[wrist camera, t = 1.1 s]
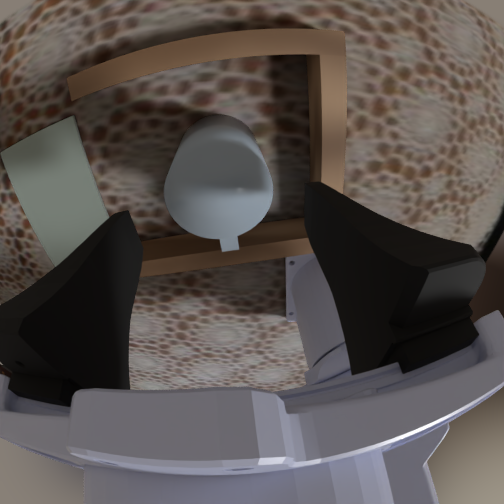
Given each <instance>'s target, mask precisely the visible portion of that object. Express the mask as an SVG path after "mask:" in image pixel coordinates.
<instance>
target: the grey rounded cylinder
mask: <svg viewBox="0 0 504 504" xmlns="http://www.w3.org/2000/svg"><path fill="white" fill-rule="evenodd" d="M272 197H273V183H272V179H271V176H270V173H269V171H268V168H267V166H266V163H265V161H264V158H263V156H262V153H261V151H260V149H259V146H258V144H257V141H256V139H255V137H254V135H253V133H252V131H251V130H250V129H249V127H248V126H247V125H246V124H244V123H243V122H242V121H240V120H238V119H236V118H234V117H231V116H227V115H212V116H207V117H205V118H202V119H200V120H198V121H197V122H195V123H194V124H193V125H191V126H190V127H189V129H188V130H187V131H186V132H185V134H184V136H183V138H182V140H181V143H180V145H179V147H178V150H177V152H176V155H175V157H174V160H173V162H172V165H171V167H170V170H169V172H168V175H167V177H166V181H165V185H164V199H165V203H166V206H167V209H168V211H169V213H170V215H171V216H172V218H173V219H174V220H175V221H176V222H177V223H178V224H179V225H180V226H181V227H182V228H183V229H185V230H187V231H188V232H190V233H192V234H194V235H197V236H200V237H204V238H209V239H220V244H221V248H222V252H225V251H232V250H239V243H238V235H241V234H243V233H245V232H247V231H249V230H251V229H252V228H253V227H255V226H256V225H257V224H258V223H259V222H260V221H261V220H262V219H263V218H264V216H265V215H266V213H267V212H268V210H269V208H270V205H271V202H272Z"/></svg>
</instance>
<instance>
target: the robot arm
mask: <svg viewBox="0 0 504 504" xmlns="http://www.w3.org/2000/svg"><path fill="white" fill-rule="evenodd" d="M304 226H305V229H306V232H307V236H308V239H309V242H310V245H311V247H312V249H313V252H314V253H311V254H305V255H298V256H291V257H285V266H286V319H287V321H288V322H293V321H297V324H298V328H299V332H300V336H301V340H302V344H303V348H304V352H305V356H306V360H307V364H308V367H309V369H310V370H308V371H306V372H305V373H304V375H305V379H306V383H307V384H306V385H304V386H302V387H300V388H294V389H289V390H283V391H277V392H271V391H268V390H263V389H257V388H252V387H211V388H197V389H177V390H130V381H129V330H130V319H131V313H132V308H133V303H134V299H135V294H136V290H137V286H138V282H139V277H140V273H141V268H142V260H143V249H144V248H143V246H142V244H141V241H140V239H139V236H138V234H137V231H136V229H135V226H134V224H133V221H132V218H131V216H130V213H129V211H128V210H127V211H122V212H118V213H115V214H113V215H112V216H111V217H109V218H108V219H107V220H106V221H105V222H104V223H102V224H101V225H100V226H99V227H98V228H97V229H96V230H95V231H94V232H93V233H92V234H91V235H90V236H89V237H88V238H87V239H86V240H85V241H84V242H82V243H81V244H80V245H79V246H78V247H77V248H76V249H75V250H74V251H73V252H72V253H71V254H70V255H69V256H68V257H66V258H65V259H64V260H63V261H62V262H61V263H60V264H58V265H57V266H56V267H55V268H54V269H53V270H51V271H50V272H49V273H48V274H46V275H45V276H44V277H42V278H41V279H40V280H38V281H37V282H36V283H34V284H33V285H32V286H30V287H29V288H27V289H26V290H24V291H23V292H22V293H20V294H18V295H17V296H15V297H14V298H12V299H11V300H9V301H7V302H5V303H4V304H2V305H0V362H1V363H2V364H3V365H4V366H6V367H7V368H8V369H9V370H10V371H12V374H11V378H9V377H7V376H5V375H2V374H0V437H1V438H3V439H5V440H7V441H9V442H11V443H13V444H15V445H17V446H19V447H21V448H24V449H26V450H29V451H31V452H33V453H36V454H38V455H41V456H44V457H47V458H50V459H52V460H55V461H58V462H61V463H64V464H68V465H71V466H74V467H78V468H81V469H84V504H439V502H438V498H437V494H436V491H435V487H434V484H433V481H432V477H431V474H430V471H429V468H428V465H427V460H428V459H429V457H430V456H431V455H432V453H433V452H434V451H435V449H436V448H437V447H438V445H439V444H440V443H441V441H442V440H443V438H444V437H445V435H446V434H447V432H448V430H449V424H448V422H450V421H452V420H453V419H455V418H457V417H459V416H460V415H462V414H464V413H465V412H467V411H469V410H470V409H472V408H473V407H475V406H477V405H478V404H480V403H481V402H482V401H484V400H485V399H487V398H489V397H490V396H491V395H493V394H494V393H495V392H496V391H498V390H499V389H500V388H502V387H503V386H504V319H503V317H502V315H501V314H500V312H499V311H498V310H496V311H494V312H492V313H490V314H488V315H486V316H484V317H482V318H480V319H479V320H477V321H476V322H475V323H474V324H473V323H472V321H471V319H470V316H471V315H472V313H473V311H472V310H471V308H470V306H469V305H468V304H469V303H470V301H471V299H472V298H473V296H474V295H475V293H476V291H477V290H478V288H479V286H480V284H481V282H482V280H483V278H484V274H485V269H486V268H485V262H484V260H483V259H482V258H481V256H480V255H479V254H478V253H477V251H476V250H475V249H474V248H473V247H472V246H471V245H469V244H464V243H460V242H456V241H451V240H447V239H443V238H440V237H436V236H433V235H430V234H427V233H424V232H420V231H418V230H415V229H412V228H410V227H407V226H404V225H402V224H399V223H397V222H395V221H392V220H390V219H388V218H386V217H384V216H381V215H379V214H377V213H375V212H373V211H372V210H370V209H368V208H366V207H364V206H362V205H360V204H359V203H357V202H355V201H353V200H352V199H350V198H348V197H347V196H345V195H343V194H341V193H340V192H338V191H336V190H335V189H333V188H331V187H330V186H328V185H326V184H324V183H322V182H320V181H318V182H307V183H305V206H304ZM290 261H293V262H290Z"/></svg>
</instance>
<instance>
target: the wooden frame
mask: <svg viewBox="0 0 504 504" xmlns="http://www.w3.org/2000/svg"><path fill="white" fill-rule="evenodd" d="M289 54H306V59H307V75H308V96H309V127H310V182H318V181H320V182H322V183H324V184H326V185H328V186H330V187H331V188H333V189H335V190H336V191H338V192H340V193H341V194H343V183H344V168H345V150H346V123H347V72H346V46H345V32H344V31H334V30H320V29H258V30H244V31H233V32H225V33H217V34H210V35H204V36H198V37H192V38H187V39H182V40H177V41H173V42H169V43H164V44H160V45H156V46H153V47H149V48H145V49H142V50H138V51H135V52H132V53H129V54H126V55H123V56H120V57H117V58H114V59H111V60H108V61H106V62H103V63H100V64H98V65H95V66H93V67H90V68H88V69H86V70H83V71H81V72H79V73H76V74H74V75H72V76H70V77H68V78H67V83H68V88H69V92H70V96H71V100H72V101H74V100H76V99H78V98H81V97H83V96H86V95H88V94H91V93H93V92H96V91H99V90H101V89H104V88H107V87H110V86H113V85H116V84H119V83H122V82H125V81H128V80H131V79H134V78H138V77H141V76H145V75H149V74H152V73H156V72H160V71H164V70H168V69H173V68H177V67H182V66H187V65H192V64H198V63H203V62H210V61H216V60H223V59H231V58H240V57H251V56H264V55H289ZM238 243H239V250H232V251H225V252H222V248H221V244H220V239H209V238H204V237H200V236H197V235H194V234H192V233H189V234H183V235H177V236H171V237H164V238H158V239H152V240H146V241H141V244H142V246H143V248H144V249H143V260H142V268H141V273H140V277H148V276H155V275H163V274H170V273H178V272H185V271H192V270H200V269H207V268H214V267H221V266H228V265H236V264H243V263H250V262H257V261H264V260H271V259H277V258H284V257H291V256H298V255H305V254H311V253H314V252H313V249H312V247H311V245H310V242H309V239H308V236H307V232H306V229H305V226H304V217H303V218H295V219H287V220H280V221H272V222H265V223H258V224H257V225H256V226H255V227H253V228H252V229H251V230H249V231H247V232H245V233H243V234H241V235H238ZM140 277H139V278H140Z"/></svg>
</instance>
